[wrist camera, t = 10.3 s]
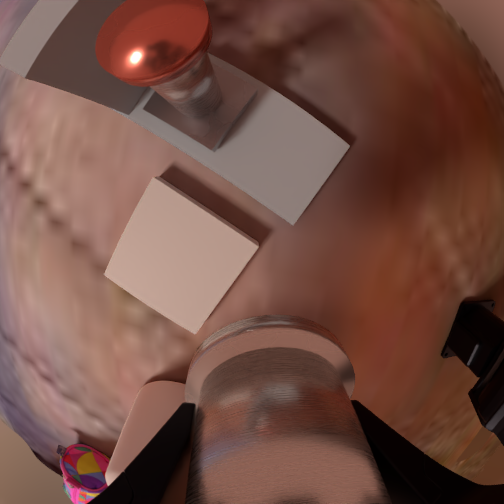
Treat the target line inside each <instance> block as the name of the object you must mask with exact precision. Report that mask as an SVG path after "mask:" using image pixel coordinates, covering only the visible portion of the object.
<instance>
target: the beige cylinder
mask: <svg viewBox="0 0 504 504" xmlns="http://www.w3.org/2000/svg"><path fill="white" fill-rule="evenodd" d="M185 385H186V384H182V383H178V382H173V381H155V382H151V383H148V384H146V385H144V386H143V387H142V388H141V389H140V390H139V391H138V394H137V396H136V398H135V401H134V403H133V405H132V408H131V410H130V412H129V415H128V417H127V420H126V422H125V424H124V427H123V429H122V432H121V434H120V437H119V439H118V442H117V444H116V447H115V449H114V452H113V455H112V457H111V460H110V462H109V465H108V468H107V471H106V473H105V479H106V482H107V485H108V486H109V485H110V484H111V483H112V482H113V481H114V480H115V479H116V478H117V477H118V476H119V475H120V474H121V472H124V469H125V468H126V467H127V466H128V465H129V464H130V463H131V462H132V461H133V459H134V458H135V457H136V456H137V455H138V454H139V453H140V452H141V450H142V449H143V448H144V447H145V446H146V445H147V444H148V443H149V441H150V440H151V439H152V438H153V437H154V436H155V434H156V433H157V432H158V431H159V430H160V429H161V428H162V426H163V425H164V424H165V423H166V422H167V420H168V419H169V418H170V417H171V416H172V415H173V413H174V412H175V411H176V410H177V409H178V407H179V406H180V405H181V404H182V403H183V402H186V400H185Z"/></svg>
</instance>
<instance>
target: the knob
mask: <svg viewBox="0 0 504 504" xmlns="http://www.w3.org/2000/svg"><path fill="white" fill-rule="evenodd" d="M354 385H355V374H354V370H353V367H352V364H351V362H350V360H349V358H348V357H347V355H346V353H345V351H344V349H343V347H342V345H341V343H340V342H339V341H338V339H337V338H336V337H335V336H334V335H333V334H332V333H331V332H330V331H329V330H327V329H326V328H324V327H323V326H321V325H319V324H317V323H315V322H313V321H310V320H307V319H304V318H300V317H294V316H287V315H264V316H257V317H252V318H247V319H243V320H240V321H237V322H235V323H232V324H229V325H227V326H225V327H223V328H221V329H220V330H218V331H217V332H215V333H213V334H212V335H211V336H209V337H208V338H207V339H206V340H205V341H204V342H203V343H202V344H201V345H200V346H199V348H198V349H197V351H196V352H195V354H194V355H193V358H192V360H191V363H190V367H189V371H188V376H187V380H186V385H185V400H186V402H189V403H195V404H196V408H197V414H196V421H195V428H194V435H193V442H192V450H191V457H190V465H189V473H188V481H187V489H186V498H185V504H392V502H391V500H390V497H389V494H388V492H387V489H386V487H385V484H384V481H383V479H382V476H381V474H380V471H379V468H378V466H377V463H376V461H375V458H374V456H373V453H372V451H371V448H370V446H369V444H368V441H367V439H366V436H365V434H364V431H363V429H362V427H361V424H360V422H359V419H358V417H357V415H356V412H355V410H354V408H353V405H352V403H351V400H350V398H351V396H352V393H353V390H354Z"/></svg>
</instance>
